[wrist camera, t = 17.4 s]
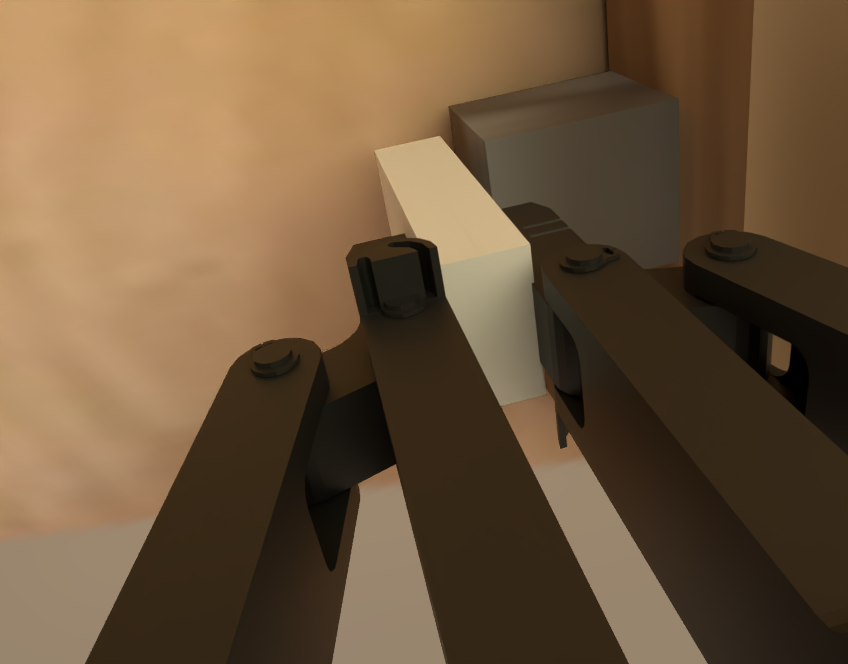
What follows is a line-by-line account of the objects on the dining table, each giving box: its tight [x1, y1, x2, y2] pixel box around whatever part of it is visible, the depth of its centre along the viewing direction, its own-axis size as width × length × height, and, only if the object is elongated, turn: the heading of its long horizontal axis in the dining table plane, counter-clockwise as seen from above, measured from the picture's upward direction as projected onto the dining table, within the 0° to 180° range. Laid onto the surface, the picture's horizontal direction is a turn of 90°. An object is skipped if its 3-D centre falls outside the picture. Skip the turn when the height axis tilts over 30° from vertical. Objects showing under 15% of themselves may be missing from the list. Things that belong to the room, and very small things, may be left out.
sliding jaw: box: [448, 0, 848, 371], centre depth 16 cm, size 7×11×6 cm, turn 10°
